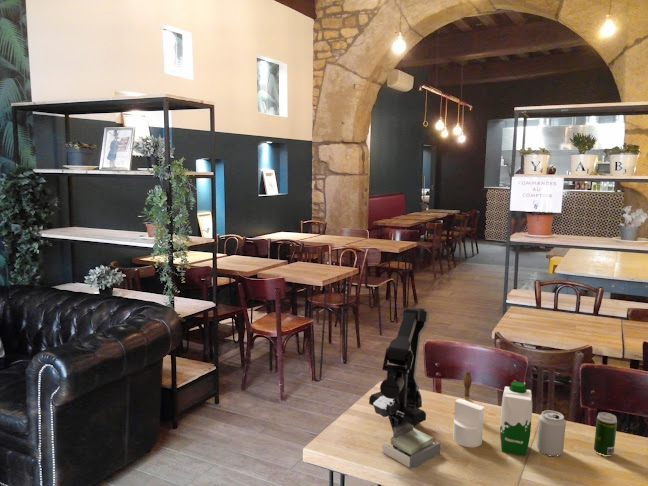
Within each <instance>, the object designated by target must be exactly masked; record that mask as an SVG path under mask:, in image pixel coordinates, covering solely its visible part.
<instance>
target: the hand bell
mask: <svg viewBox="0 0 648 486" xmlns="http://www.w3.org/2000/svg"><path fill="white" fill-rule="evenodd" d="M463 386H464V396H463V398H462V399H463V400H466V401H468V402H471V403H474V400H473V399H471V398H470V391H471V390H470V389H471V386H472V376H471V372H470V371H469V370H466V371H465V374H464V376H463Z"/></svg>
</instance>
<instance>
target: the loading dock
mask: <svg viewBox="0 0 648 486" xmlns="http://www.w3.org/2000/svg"><path fill="white" fill-rule="evenodd" d="M381 451H382V453H384V454H385V455H387V456H389V457H390V458H392V459H394V460H396V461H398V462H399V463H401V464H402V465H405V466H406V467H407V468H409V469H412V470H413V469H415V468H417V467H419V466H420V465H422V464H424V463H426V462H428V461H430V460H431V459H433V458H435V457H437V456H438V455H440V454H441V442H440V441H436V442H434V441H433V444H432V445H430V446H428V447H426V448H424V449H423V450H421V451H419V452H417V453H415V454H413V455H411V456H410V457H409V456H408V454H407V453H406V452H404V451H403V450H401V449H399V448H397V449H395V448H394V447H393V446H392V445H389V444H387V443H385V442H384V443H383V444H382V450H381Z"/></svg>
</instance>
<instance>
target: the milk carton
mask: <svg viewBox="0 0 648 486" xmlns="http://www.w3.org/2000/svg"><path fill="white" fill-rule="evenodd" d="M532 399H533V395H532V390H531V389H527V388H526V383H524V382H523V381H518V380H515V381H512V382H511V383H510V386H504V390H503V394H502V399H501V407H500V409H501V410H500V422H499V423H500V424H499V425H500V426H499V433H500V435H499V436H500V437H499V438H500V447H501V449H500V450H501V452H504V453H505V452H506V453H510V454H515V455H521V456H525V457H526V455H527V451H528V448H529V443H530V439H531V438H530V437H531V428H532V418H533V417H532V415H533V400H532Z"/></svg>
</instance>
